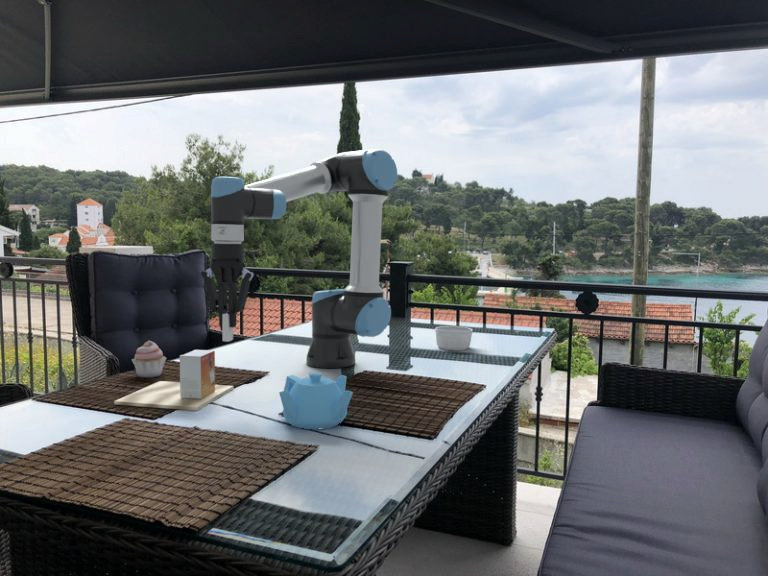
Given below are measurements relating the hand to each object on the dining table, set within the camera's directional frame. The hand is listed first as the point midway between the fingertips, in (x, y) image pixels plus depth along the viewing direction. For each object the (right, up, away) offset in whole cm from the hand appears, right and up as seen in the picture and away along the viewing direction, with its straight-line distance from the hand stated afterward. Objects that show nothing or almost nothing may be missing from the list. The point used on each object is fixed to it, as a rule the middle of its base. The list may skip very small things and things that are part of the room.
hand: (227, 340), depth 153 cm
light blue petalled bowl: (+23, -17, -14) cm, 32 cm away
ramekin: (+63, -9, +73) cm, 96 cm away
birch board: (-14, -14, +4) cm, 20 cm away
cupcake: (-28, -12, +25) cm, 40 cm away
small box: (-8, -14, +3) cm, 16 cm away
